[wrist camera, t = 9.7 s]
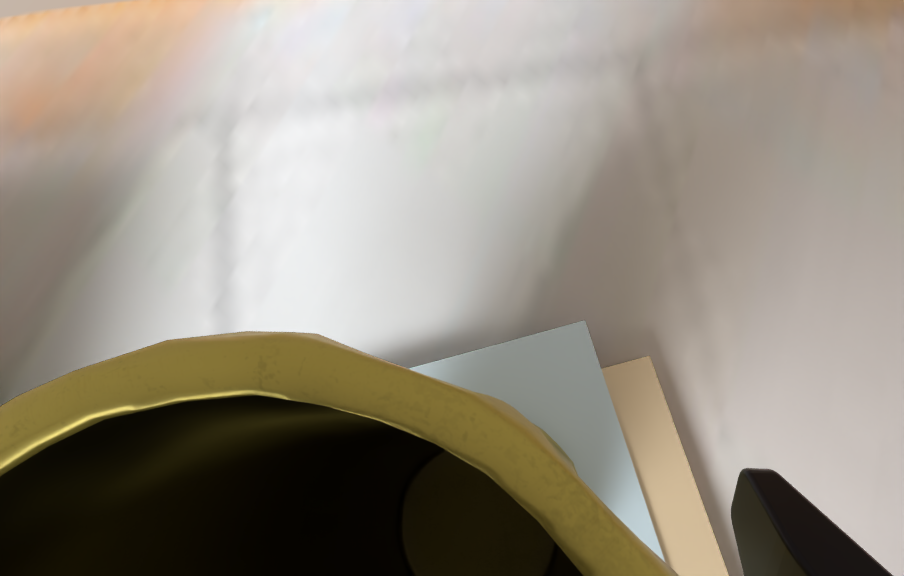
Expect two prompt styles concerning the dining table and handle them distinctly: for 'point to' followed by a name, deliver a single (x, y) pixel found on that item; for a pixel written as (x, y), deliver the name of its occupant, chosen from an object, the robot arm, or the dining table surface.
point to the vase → (290, 472)
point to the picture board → (601, 433)
